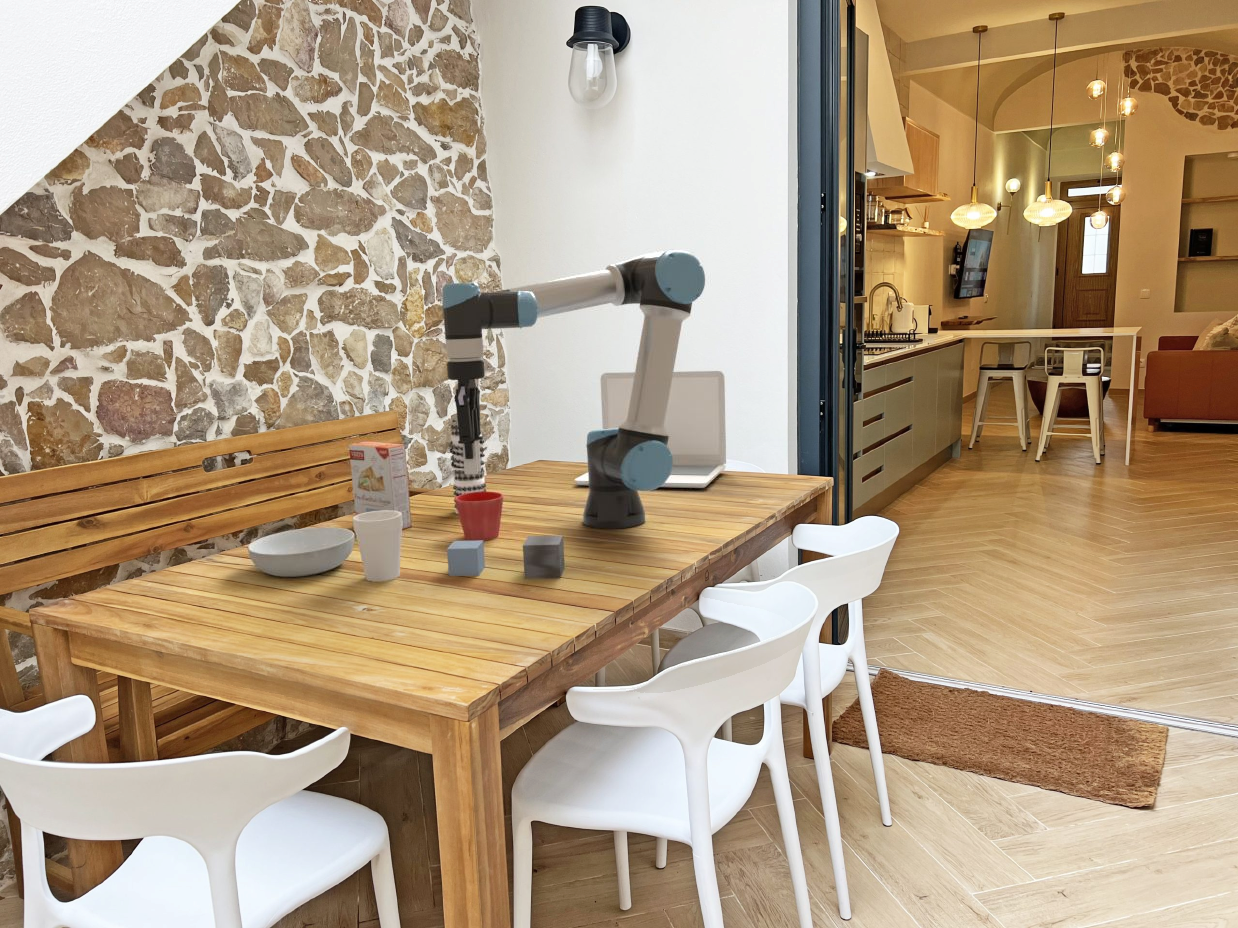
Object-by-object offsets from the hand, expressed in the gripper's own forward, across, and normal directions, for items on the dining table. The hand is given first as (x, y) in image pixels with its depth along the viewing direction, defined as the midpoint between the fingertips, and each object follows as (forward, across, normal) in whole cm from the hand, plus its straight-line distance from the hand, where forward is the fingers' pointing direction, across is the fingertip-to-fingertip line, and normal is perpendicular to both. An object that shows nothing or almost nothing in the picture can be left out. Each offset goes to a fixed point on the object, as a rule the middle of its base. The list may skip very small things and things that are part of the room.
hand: (472, 472), depth 192 cm
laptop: (+19, -86, +35) cm, 95 cm away
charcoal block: (+19, +13, +16) cm, 28 cm away
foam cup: (+19, +14, -16) cm, 29 cm away
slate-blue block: (+19, +11, 0) cm, 22 cm away
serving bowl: (+19, +7, -35) cm, 40 cm away
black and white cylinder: (+19, -46, -11) cm, 51 cm away
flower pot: (+19, -18, -3) cm, 26 cm away
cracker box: (+19, -30, -30) cm, 46 cm away
